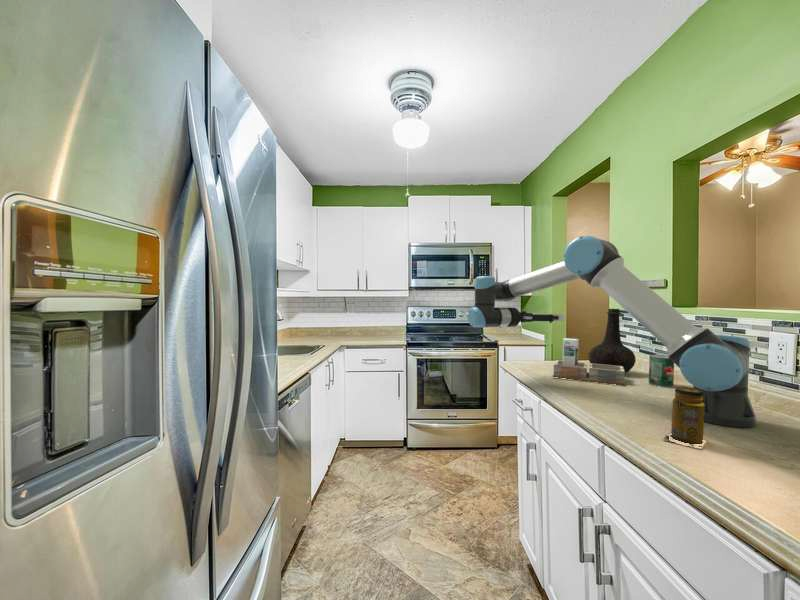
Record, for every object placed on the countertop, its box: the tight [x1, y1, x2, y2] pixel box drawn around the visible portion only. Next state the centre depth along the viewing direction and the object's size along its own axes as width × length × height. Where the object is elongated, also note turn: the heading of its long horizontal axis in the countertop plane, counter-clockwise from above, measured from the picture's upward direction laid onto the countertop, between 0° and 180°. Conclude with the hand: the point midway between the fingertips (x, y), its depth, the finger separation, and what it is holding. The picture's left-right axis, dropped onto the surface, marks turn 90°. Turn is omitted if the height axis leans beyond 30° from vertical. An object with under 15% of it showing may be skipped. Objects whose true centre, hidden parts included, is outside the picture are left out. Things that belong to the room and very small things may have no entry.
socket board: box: [552, 359, 626, 387], centre depth 155 cm, size 15×25×5 cm, turn 63°
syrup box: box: [562, 337, 580, 366], centre depth 159 cm, size 6×6×14 cm
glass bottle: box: [588, 308, 636, 374], centre depth 167 cm, size 18×18×28 cm
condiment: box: [662, 386, 708, 447], centre depth 90 cm, size 7×8×12 cm
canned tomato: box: [648, 354, 675, 388], centre depth 146 cm, size 8×8×11 cm
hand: (551, 316), depth 156 cm, fingers open, 13 cm apart
